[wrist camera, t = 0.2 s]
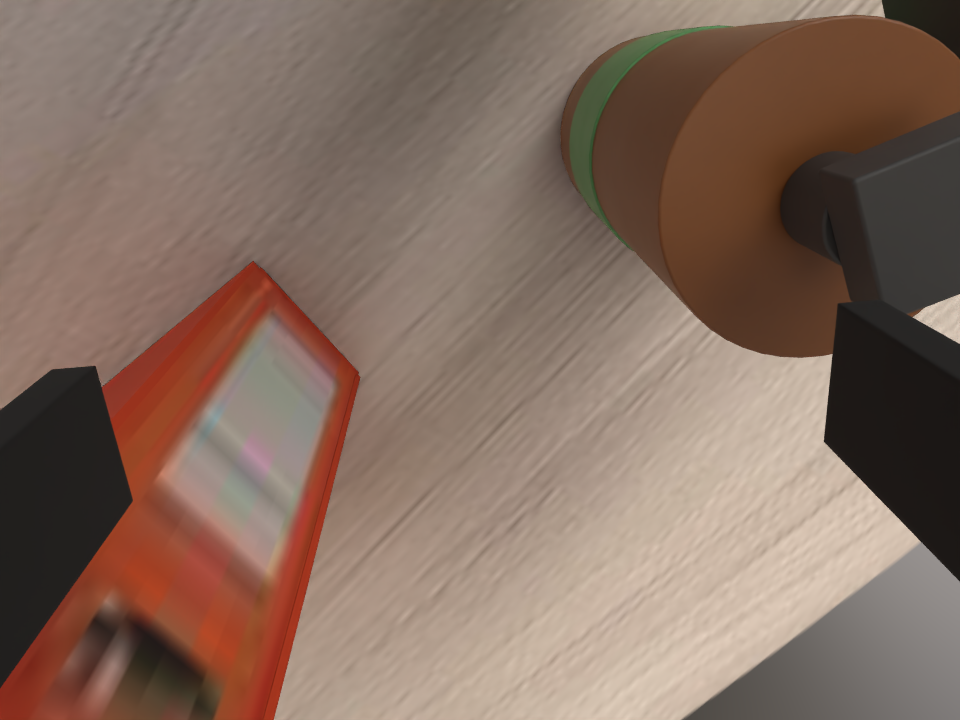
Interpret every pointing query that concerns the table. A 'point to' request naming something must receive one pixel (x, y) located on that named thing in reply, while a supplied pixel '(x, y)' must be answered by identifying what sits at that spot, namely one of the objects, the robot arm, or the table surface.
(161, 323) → the table surface
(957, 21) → the dark rectangular block
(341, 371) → the file binder
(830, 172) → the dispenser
